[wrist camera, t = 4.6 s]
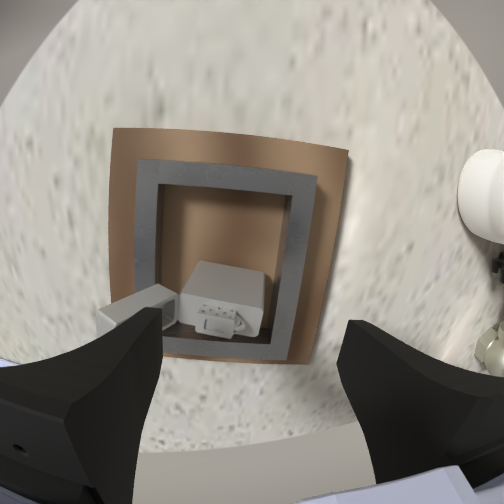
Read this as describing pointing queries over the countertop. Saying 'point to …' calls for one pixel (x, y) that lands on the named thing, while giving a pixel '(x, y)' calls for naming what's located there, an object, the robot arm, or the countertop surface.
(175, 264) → the walnut board
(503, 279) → the valve
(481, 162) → the water bottle
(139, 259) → the steel collar
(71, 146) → the countertop surface
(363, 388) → the robot arm
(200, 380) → the countertop surface
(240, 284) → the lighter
